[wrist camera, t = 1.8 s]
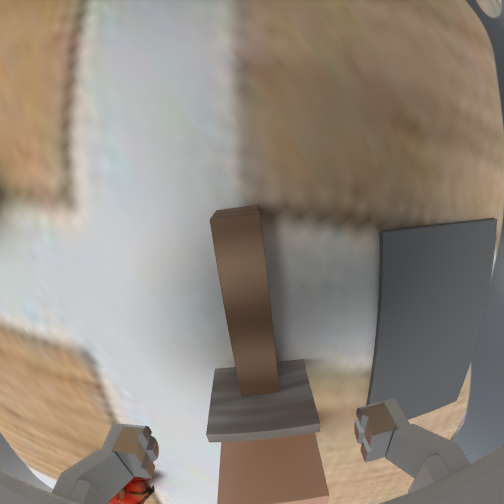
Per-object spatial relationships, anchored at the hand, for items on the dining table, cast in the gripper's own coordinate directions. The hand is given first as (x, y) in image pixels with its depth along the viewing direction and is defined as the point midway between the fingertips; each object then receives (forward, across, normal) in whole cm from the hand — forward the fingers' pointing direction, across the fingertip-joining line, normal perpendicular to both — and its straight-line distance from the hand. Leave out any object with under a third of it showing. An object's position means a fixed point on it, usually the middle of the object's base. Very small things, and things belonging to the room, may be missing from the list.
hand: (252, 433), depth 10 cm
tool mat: (+14, -18, +8) cm, 24 cm away
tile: (+14, 0, +15) cm, 21 cm away
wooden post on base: (+14, 0, +1) cm, 14 cm away
